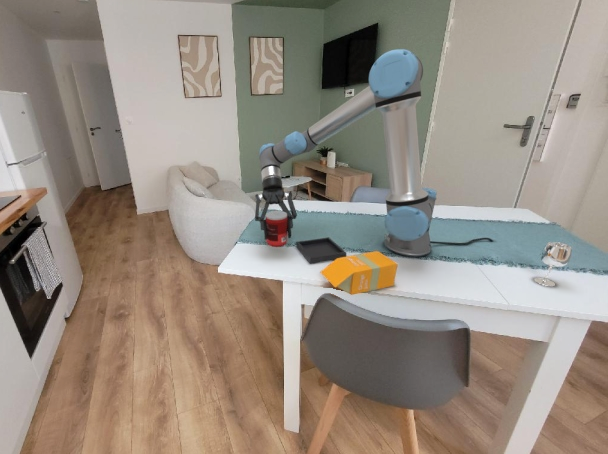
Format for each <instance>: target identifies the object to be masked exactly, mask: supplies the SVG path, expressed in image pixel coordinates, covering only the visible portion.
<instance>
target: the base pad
mask: <svg viewBox="0 0 608 454" xmlns="http://www.w3.org/2000/svg"><path fill="white" fill-rule="evenodd" d="M295 248H296V249H297V250H298V251H299V252H300V253H301V255H302V257H304V258H305V259H306V261H307V262H308V263H309V264H310V265H311V264H318V263H324V262H333V261H334V260H336V259H337V258H342V257H347V251H345V250H344V249H343V248H342V247H341V246H339V245H338V244H337V243H336V242H335V241H334V240H333V239H331V238H330V237H329V236H328V237H320V238H315V239H313V238H312V239H306V240H301V241H300V240H299V241H296V242H295Z"/></svg>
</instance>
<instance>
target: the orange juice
mask: <svg viewBox="0 0 608 454" xmlns="http://www.w3.org/2000/svg"><path fill="white" fill-rule="evenodd" d="M397 270H398V263H397V262H396V261H394V260H393V259H391V258H389V257H388V256H387V255H385V254H383V253H381V252H380V251H379V250H376V251H370V252H364V253H358V254H354V255H348V256H347V255H346V257H342V258H337V259H336V260H332V261H331V262H330V263H329V264H328V265H327V266H326V267H324V268H323V269H322V270H320V272H319V273H320V274H321V275H322V276H323V277H324V278H325V279H326V280H327V281H328V282H329V283H330V284H331V285H332V286H333V287H334V288H335V289H339V290H340V291H343V292H344V293H347V294H349V295H350V296H353V295H357V294H362V293H367V292H372V291H377V290H380V289H385V288H389V287H394V286H395V280H396V275H397Z"/></svg>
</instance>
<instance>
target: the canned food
mask: <svg viewBox="0 0 608 454" xmlns="http://www.w3.org/2000/svg"><path fill="white" fill-rule="evenodd" d="M265 220H266V228H267V240H265V241H266V244H267V246H270V247H274V248H280V247H284V246H286V244H287V243H288V231H287V213H286V212H283V210H271V211H267V212H266V215H265Z"/></svg>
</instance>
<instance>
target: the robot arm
mask: <svg viewBox="0 0 608 454" xmlns="http://www.w3.org/2000/svg"><path fill="white" fill-rule="evenodd" d="M423 76H424V65H423V63H422V61H421V59H420V58H419V57H418V56H416V55H415V54H414V53H413V52H412V51H411V50H409V49H404V48H397V49H392V50H388V51H386V52H384V53H383V54H382V55H381V56H379V57H378V58H377V59H376V60H375V62H374V63H373V65H372V66H371V68H370V70H369V73H368V86H366V87H365V88H364V89H362V90H361V91H359V92H358V93H356V94H355V95H354V96H352V97H350V99H348V100H347V101H345V102H344V103H342V104H341V105H339V106H338V107H337V108H335V109H334V110H332V111H330V112H329V113H327V114H326V115H325V116H324V117H322V118H321V119H320V120H318V121H317V122H315V123H313V124H312V125H311V126H310V127H308V128H307V129H305V130H304V131H302V132H299V131H297V130H296V131H293V132H291V133H290V134H287V135H286V136H285V137H284V138H282V139H281V140H280V141H278V142H277V143H271V142H268V143H265V144H263V145H262V146H260V148H259V165H260V174H261V182H262V184H261V187H262V194H261V193H260V194H255V196H254V199H255V202H256V203H255V212H254V213H255V214H254V221H255V222H259V225H260V226H259V227H260V230H261V231H263V234H264V240H265V241H266V240H267V228H266V214H267V213H268V209H269V207H270V205H271V206H272V205H278V206H279V207H280V209H281V211H283V212H286V213H287V239H291V237H292V229H293V227H294V222H293V220H296V219H297V216H298V213H297V210H296V207H295V203H294V201H293V193H292V191H290V192H285V191H284V187H283V181H282V172H281V165H283V164H284V163H285V162H287V161H289V160H290V159H293V158H295V157H297V156H300V155H303V154H305V153H309V152H311V151H313V150H314V149H315V148H316V147H317V146H319V145H321V144H322V143H324V142H325V141H327V140H328V139H330V138H332V137H333V136H334V135H336V134H338V133H339V132H341V131H343V130H344V129H346V128H347V127H349V126H351V125H352V124H353V123H355V122H357V121H358V120H360V119H362V118H363V117H365V116H366V115H368V114H370V113H372V112H373V111H375V110H376V111H378V112H380V113H381V117H382V126H383V135H384V145H385V156H386V164H387V174H388V183H389V185H388V186H389V193H388V195H386V196H385V205H386V215H385V218H384V227H385V230H386V231H387V233H388V235H387V234H386V233H385V236H384V238H385V239H384V245H383V246H384V247H385V249H386V250H388V251H389V252H391V253H392V254H395V255H397V256H403V257H408V258H423V257H427V256H428V255H430V254H431V252H432V244H437V245H455V246H464V245H469V244H471V243H474V242H477V241H478V242H479V241H484V240H485V241H486V240H487V241H490V242H494V240H493V239H492V238H490V237H480V238H479V237H478V238H474V239H471V240H468V241H466V242H452V241H451V242H449V241H448V242H447V241H434V240H433V241H432V240H431V237H430V227H431V224H432V223H431V222H432V218H433V214H434V210H435V209H434V208H435V204H436V200H437V191H436V189H433V188H428V187H423V186H422V174H421V173H422V172H421V161H420V149H419V148H420V147H419V146H420V145H419V134H418V133H419V131H418V120H417V106H416V105H417V104H418V103H419V101H420V100H421V99H422V87H421V82H422V79H423ZM284 197H285V199H286V200H287V203H288V207H289V208H288V207H287V205H286V204H285V202H284ZM262 199H263V200H264V201H265V204H264V206H263V210H262V213H261V215H260V203H261V201H262Z"/></svg>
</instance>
